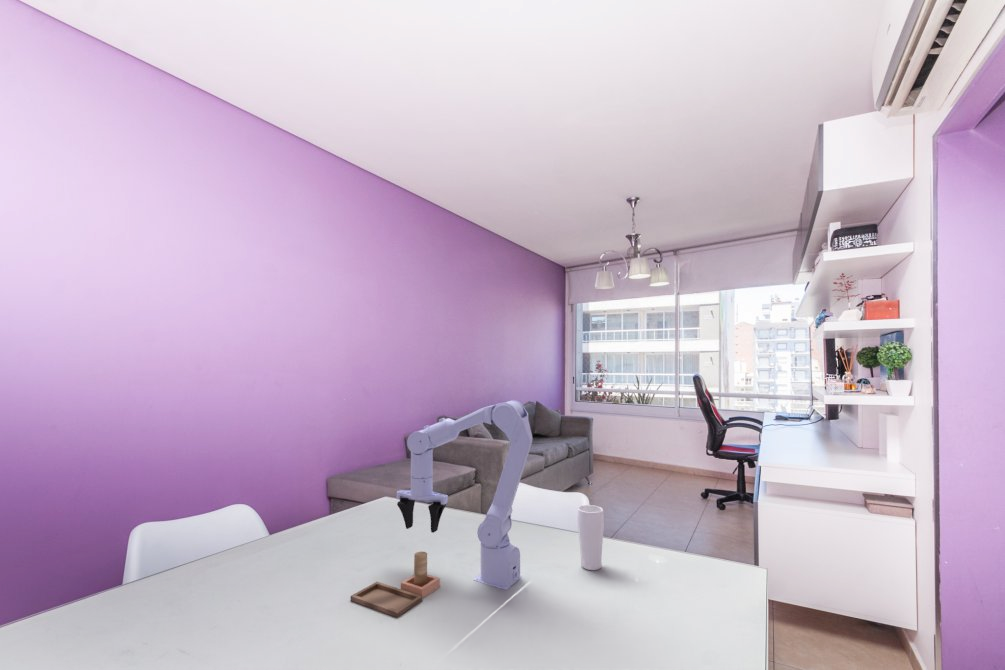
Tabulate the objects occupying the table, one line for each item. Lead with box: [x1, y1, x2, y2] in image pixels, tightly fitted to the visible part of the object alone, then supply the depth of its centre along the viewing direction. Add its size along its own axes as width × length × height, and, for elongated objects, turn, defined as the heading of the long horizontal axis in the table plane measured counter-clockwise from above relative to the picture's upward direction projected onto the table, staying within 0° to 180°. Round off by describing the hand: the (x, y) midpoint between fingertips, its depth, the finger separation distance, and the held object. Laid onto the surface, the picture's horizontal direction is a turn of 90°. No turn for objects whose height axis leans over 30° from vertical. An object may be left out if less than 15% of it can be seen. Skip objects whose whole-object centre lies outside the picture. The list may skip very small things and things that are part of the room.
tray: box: [350, 581, 423, 619], centre depth 104 cm, size 14×8×2 cm, turn 59°
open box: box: [400, 574, 441, 599], centre depth 109 cm, size 6×6×2 cm
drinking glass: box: [577, 504, 605, 571], centre depth 122 cm, size 7×7×15 cm
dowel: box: [413, 551, 428, 587], centre depth 109 cm, size 3×3×8 cm
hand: (421, 529), depth 121 cm, fingers open, 7 cm apart
